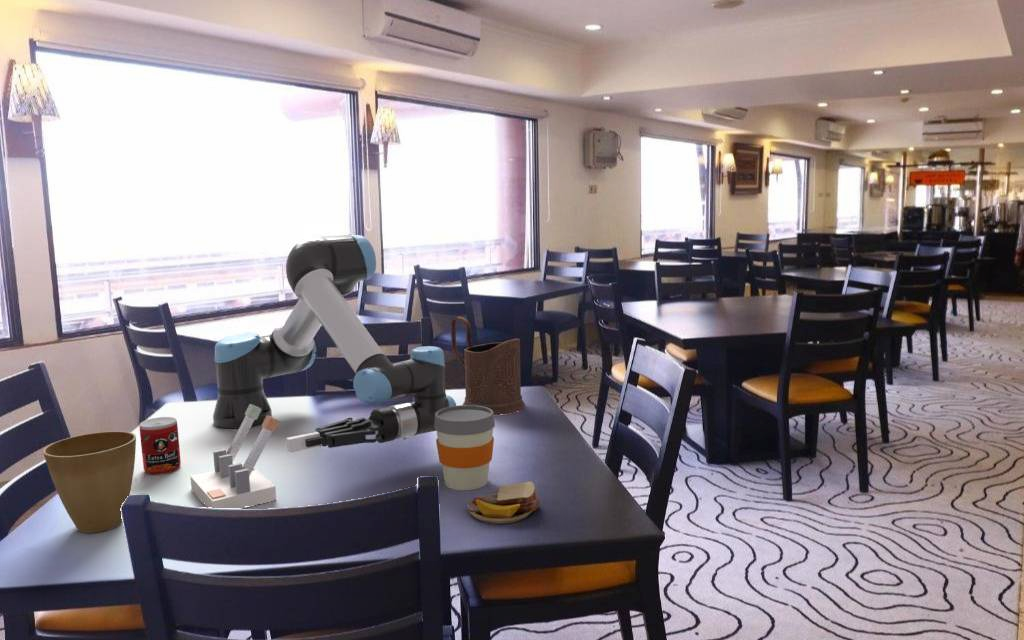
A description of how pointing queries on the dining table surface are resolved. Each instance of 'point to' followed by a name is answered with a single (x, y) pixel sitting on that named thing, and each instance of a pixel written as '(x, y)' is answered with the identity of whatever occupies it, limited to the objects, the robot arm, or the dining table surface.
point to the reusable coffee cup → (465, 445)
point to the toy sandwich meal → (506, 504)
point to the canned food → (160, 445)
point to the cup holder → (491, 373)
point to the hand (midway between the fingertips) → (288, 445)
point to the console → (231, 485)
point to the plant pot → (93, 476)
